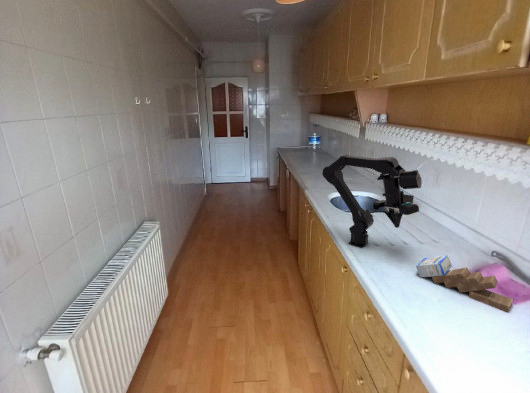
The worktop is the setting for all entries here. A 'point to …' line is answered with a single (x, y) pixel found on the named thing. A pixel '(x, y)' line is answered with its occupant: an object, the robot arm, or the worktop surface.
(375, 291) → the worktop surface
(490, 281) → the walnut domino
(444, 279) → the walnut domino
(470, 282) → the walnut domino
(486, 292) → the walnut domino
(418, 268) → the medicine box
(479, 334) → the worktop surface
